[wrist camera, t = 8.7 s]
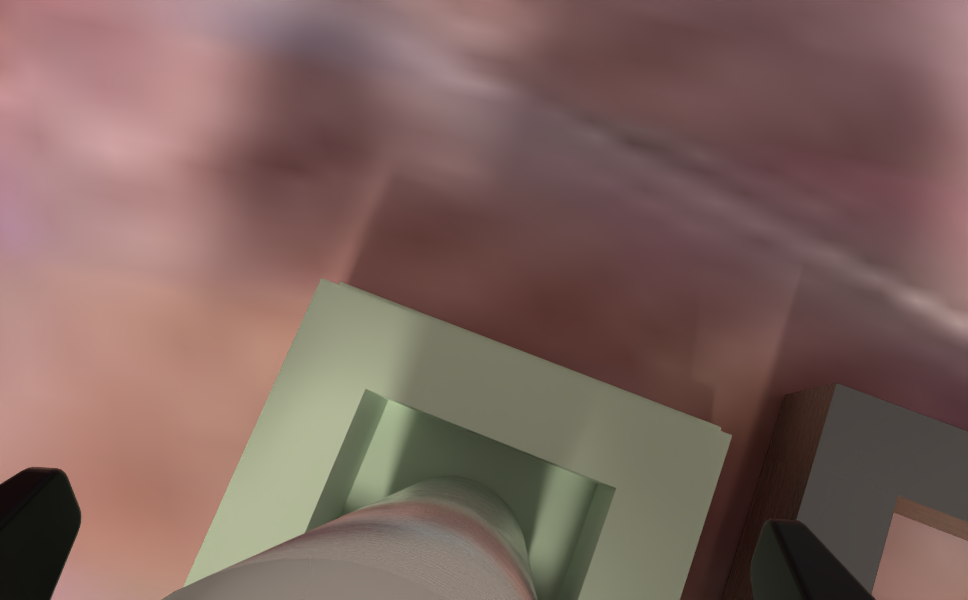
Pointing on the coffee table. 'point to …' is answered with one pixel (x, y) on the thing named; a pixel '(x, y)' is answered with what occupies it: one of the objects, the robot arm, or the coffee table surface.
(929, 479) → the socket
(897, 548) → the coffee table surface
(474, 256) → the coffee table surface
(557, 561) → the container
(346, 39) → the coffee table surface
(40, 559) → the robot arm
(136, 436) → the coffee table surface
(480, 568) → the grey cylinder
